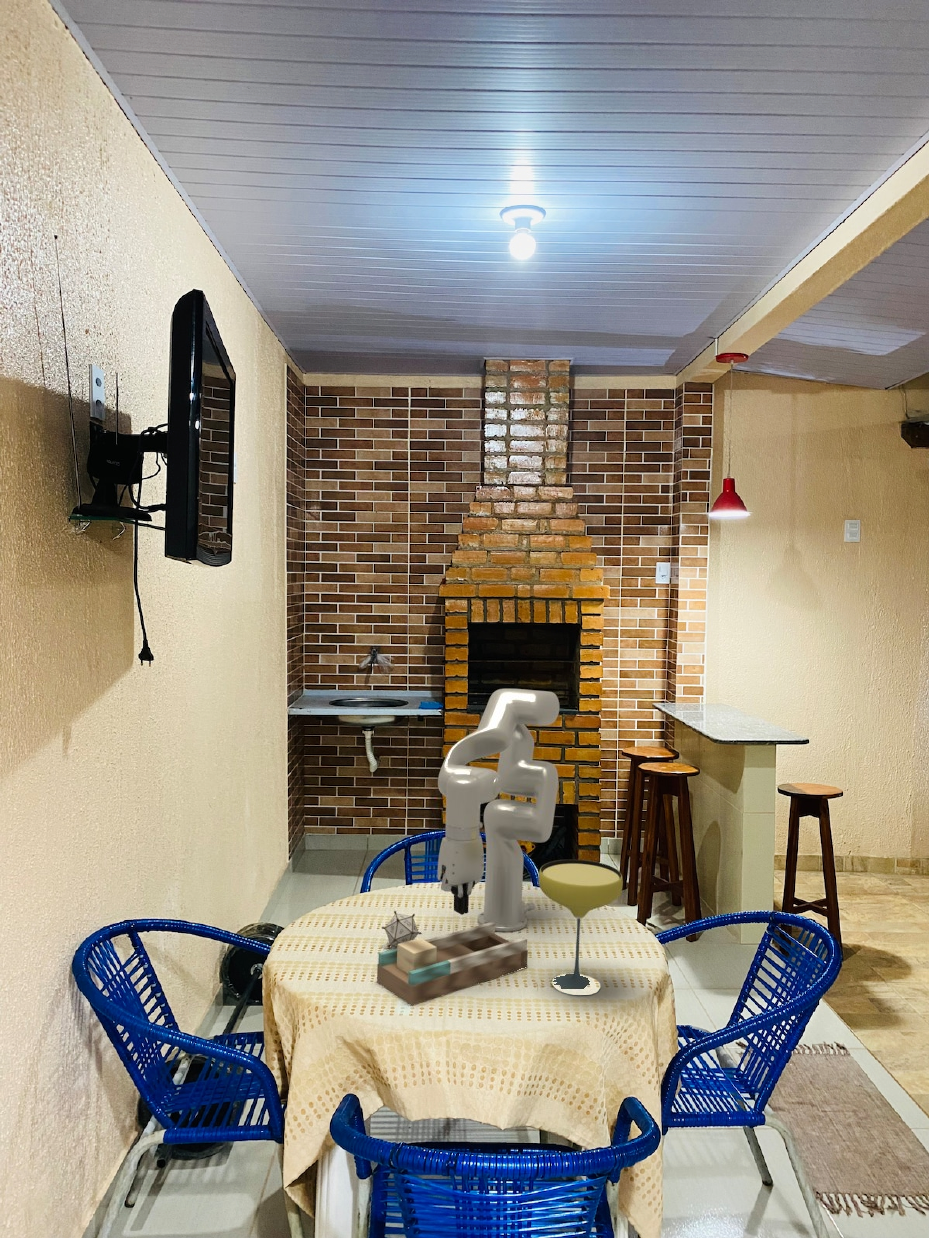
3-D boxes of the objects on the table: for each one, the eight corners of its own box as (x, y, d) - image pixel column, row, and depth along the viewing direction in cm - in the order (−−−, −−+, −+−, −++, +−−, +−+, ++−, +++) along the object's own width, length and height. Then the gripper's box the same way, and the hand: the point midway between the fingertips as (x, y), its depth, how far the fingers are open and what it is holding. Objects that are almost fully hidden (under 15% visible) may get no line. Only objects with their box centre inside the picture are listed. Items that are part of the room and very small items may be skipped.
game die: (407, 960, 218) (434, 926, 219) (394, 960, 211) (422, 925, 211) (382, 934, 222) (407, 901, 223) (368, 934, 214) (395, 899, 215)
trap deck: (490, 948, 218) (491, 921, 217) (527, 967, 208) (528, 939, 207) (376, 982, 198) (377, 952, 197) (411, 1005, 188) (412, 974, 187)
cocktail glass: (532, 965, 209) (537, 857, 208) (612, 969, 209) (617, 860, 207) (536, 1002, 191) (541, 884, 190) (623, 1006, 191) (628, 888, 189)
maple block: (419, 960, 200) (420, 937, 200) (436, 969, 196) (436, 946, 195) (396, 966, 196) (397, 943, 196) (413, 977, 192) (413, 953, 192)
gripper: (478, 821, 210) (476, 898, 211) (425, 833, 200) (423, 914, 202) (499, 829, 204) (497, 909, 205) (446, 842, 194) (444, 926, 196)
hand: (460, 911), depth 204 cm, fingers closed
